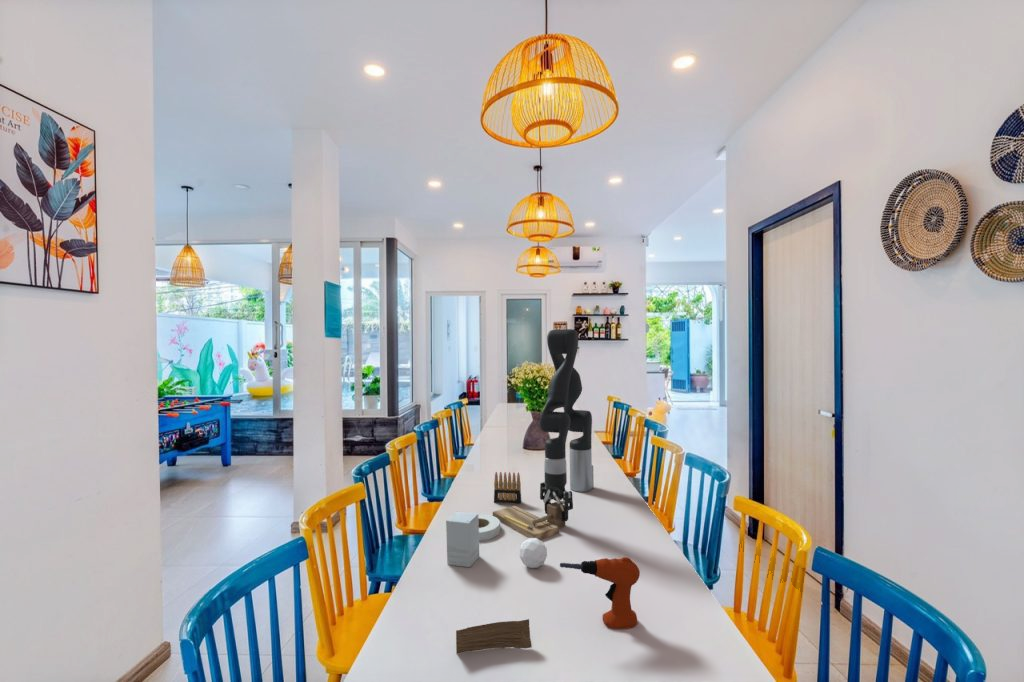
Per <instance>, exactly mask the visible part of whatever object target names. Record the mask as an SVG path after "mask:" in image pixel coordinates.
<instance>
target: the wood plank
mask: <svg viewBox="0 0 1024 682" xmlns="http://www.w3.org/2000/svg"><path fill="white" fill-rule="evenodd" d="M455 632H456V633H455V641H456V642H455V644H456V646H455V648H456V649H455V650H456V655H457V654H464V653H469V652H471V653H472V652H475V651H485V650H489V649H503V650H504V649H506V648H507V649H508V648H509V649H511V648H515V649H531V648H532V640H531V631H530V619H529V618H528V619H522V620H509V621H498V622H491V623H486V624H485V623H484V624H480V625H474V626H470V627H466V628H462V629H459V630H455Z"/></svg>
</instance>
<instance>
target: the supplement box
mask: <svg viewBox="0 0 1024 682" xmlns="http://www.w3.org/2000/svg"><path fill="white" fill-rule="evenodd" d="M478 514H479V513H474V512H463V511H456V512H454V513H453V514H452V515H451V516H450V517H449V518H447V519H446V521H445V523H446V525H445V527H446V529H445V530H446V562H447V565H452V566H457V567H458V566H459V567H464V568H472V566H473V564H474V563H475V562H476V561H477V560H478V559H479V558H480V540H479V528H480V527H479V519H478Z"/></svg>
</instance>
